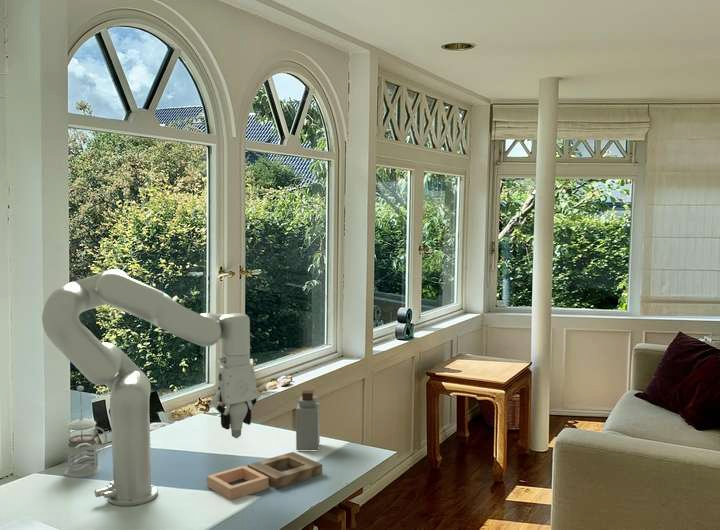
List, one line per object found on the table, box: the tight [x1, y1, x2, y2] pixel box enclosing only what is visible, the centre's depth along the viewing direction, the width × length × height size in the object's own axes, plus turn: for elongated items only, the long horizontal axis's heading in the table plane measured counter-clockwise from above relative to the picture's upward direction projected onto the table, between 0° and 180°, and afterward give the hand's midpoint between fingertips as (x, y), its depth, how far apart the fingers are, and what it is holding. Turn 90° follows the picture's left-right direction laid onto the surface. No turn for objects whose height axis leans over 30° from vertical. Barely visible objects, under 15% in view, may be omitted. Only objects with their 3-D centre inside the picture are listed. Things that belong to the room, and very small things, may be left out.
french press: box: [64, 385, 108, 478], centre depth 208 cm, size 10×12×25 cm
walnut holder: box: [246, 451, 323, 490], centre depth 206 cm, size 16×14×3 cm
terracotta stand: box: [206, 464, 270, 501], centre depth 197 cm, size 12×12×3 cm
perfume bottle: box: [295, 389, 321, 451], centre depth 228 cm, size 7×7×18 cm
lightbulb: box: [228, 402, 248, 439], centre depth 195 cm, size 6×6×11 cm
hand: (236, 425), depth 195 cm, fingers closed on lightbulb, 5 cm apart
